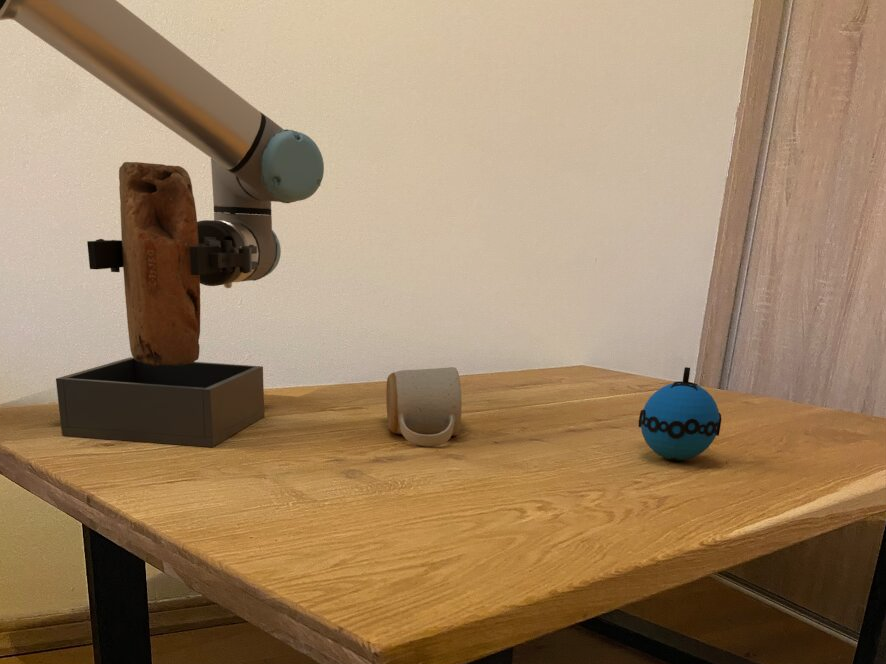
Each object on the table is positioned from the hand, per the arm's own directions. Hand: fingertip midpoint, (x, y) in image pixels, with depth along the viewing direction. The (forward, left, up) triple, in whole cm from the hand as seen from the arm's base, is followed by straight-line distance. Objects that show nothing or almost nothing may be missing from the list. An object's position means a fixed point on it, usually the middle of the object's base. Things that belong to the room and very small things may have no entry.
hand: (142, 258), depth 95 cm
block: (0, +4, -11) cm, 12 cm away
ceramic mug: (+29, +8, -18) cm, 35 cm away
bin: (0, +4, -18) cm, 19 cm away
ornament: (+57, +6, -18) cm, 60 cm away
